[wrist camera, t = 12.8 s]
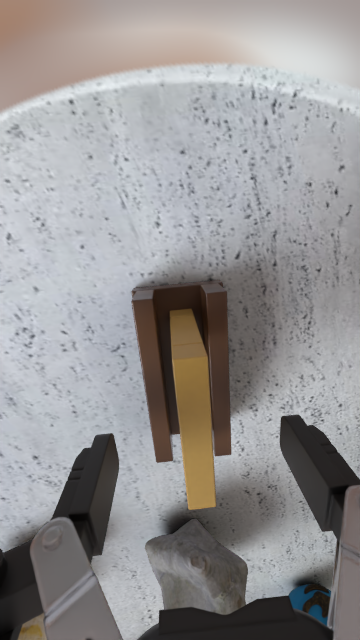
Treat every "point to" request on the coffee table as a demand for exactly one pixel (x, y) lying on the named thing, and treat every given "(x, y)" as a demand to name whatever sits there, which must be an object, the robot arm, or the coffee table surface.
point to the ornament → (312, 600)
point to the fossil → (197, 570)
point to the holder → (157, 357)
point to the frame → (193, 408)
